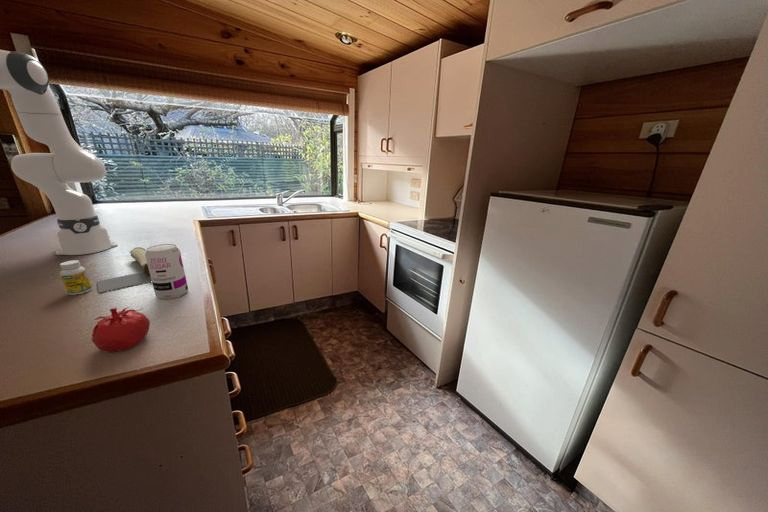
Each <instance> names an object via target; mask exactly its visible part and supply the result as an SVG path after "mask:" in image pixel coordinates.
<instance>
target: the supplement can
mask: <svg viewBox="0 0 768 512" xmlns="http://www.w3.org/2000/svg"><path fill="white" fill-rule="evenodd" d="M145 250H146V253H145V257H146V261H147V265H148V269H149V272H150V276H151V280H152V282H151V283H152V288H153V291H154V294H155V297H156V298H159V299H160V300H172V298H173V299H176V297H177V298H179V297H178V296H180V297H182V296H184V295H185V294H186V293H187V292H189V291H188V290H189V287H188V283H187V281H188V280H187V278H186V271H185V267H184V264H183V258H182V253H181V250H180V249H179V247H178V246H177V245H176V244H173V243H163V244H157V245H152V246H149V247H147V248H146V249H145ZM185 292H186V293H185ZM184 293H185V294H184ZM183 294H184V295H183ZM181 295H182V296H181Z"/></svg>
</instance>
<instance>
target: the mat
mask: <svg viewBox="0 0 768 512" xmlns="http://www.w3.org/2000/svg"><path fill="white" fill-rule="evenodd" d="M151 281H152V280H151V276H149V275H146V273H145V272H144V271H140V272H135V273H131V274H126V275H121V276H116V277H111V278H107V279H100V280H97V281H96V284H97V285H96V286H97V291H98V294H99V293H100V294H103V293H102V292H105V293H108V292H107V291H109V292H112V291H111V290H114V291H117V290H116V289H118V290H121V288H122V289H126V288H125V287H127V288H130V286H131V287H135V286H134V285H136V286H140V285H144V284H143V283H145V284H148V283H147V282H149V283H152V282H151ZM139 284H140V285H139Z"/></svg>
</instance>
